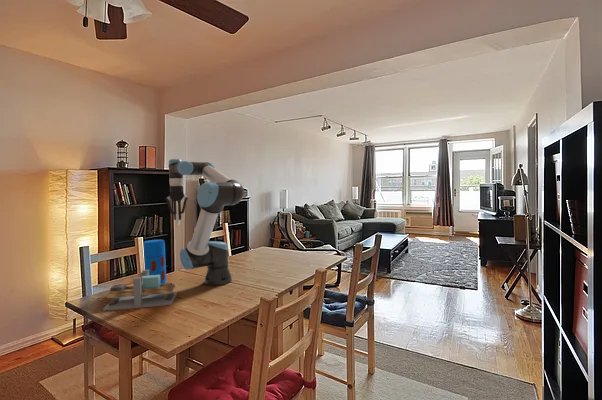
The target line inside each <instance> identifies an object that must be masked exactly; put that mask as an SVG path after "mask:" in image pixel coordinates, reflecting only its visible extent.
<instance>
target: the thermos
mask: <svg viewBox="0 0 602 400" xmlns="http://www.w3.org/2000/svg"><path fill="white" fill-rule="evenodd" d="M143 261H144V263H143V264H144V270H149V275H160V283H161V284H165V283H167V267H166V266H167V265H166V263H167V261H166V243H165V240H164V239H152V240H151V239H150V240H145V241H144V242H143Z"/></svg>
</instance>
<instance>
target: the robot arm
mask: <svg viewBox="0 0 602 400" xmlns="http://www.w3.org/2000/svg"><path fill="white" fill-rule="evenodd" d="M168 174H169V175H168V177H169V178H168V179H169V181H168V182H169V195H168V196H167V197H164V198H165V201H166V203H167V205H168V206H167V207H168V209H169V213H170V214H172V215H173V219H174V221H175V225H176V227H177V226H180V222H181V221H180V220H182V214H184V213H185V211H186V206H187V202H188V200H189V196H186V195H185V193H184V176H202V177H203V178H205V179H207V181H209V182H204V183H202V184H200V186H199V188H198V189H197V192H196V201H197V203H198V205H199V207H200V211H199V214H198V215H199V216H198V219H197V221H196V224H195V228H194V231H193V234H192V239H191V240H190V241H188V243H187V245H186V247H183V248H181V249H180V251H179V259H180V262H181V265H182V267H183V268H184V270H186V271H187V270H189V271H190V270H195V269H199V268H204V267H207V270H206V274H205V276H204V285H206V286H207V285H208V286H222V285H226V284H229V283H231V282H232V281H233V276H232V274H231V271H230V268H229V246H228V243H227V242H225V241H215V240H213V241H212V240H211V241H210V239H211V236H212V233H213V230H214V227H215V224H216V222H217V218H218V216H219V214H221V213H222V212H223V210H224V207H225V206H226V207H227V206H235V205H237V204H239V203H240V202H241V201H242V200H243V198H244V194H245V189H244V187H243V185H242V184H241V183H240V182H239V181H238V180H236V179H233V178H230V177H228V176H226V175H225V174H224V173H222V172H221V171H219V169H216V166H215V165H214V163H213V162H208V161H206V162H203V161H202V162H198V161H188V160H183V159H181V158H171V159H169V160H168ZM171 200H172V203H173V206H172V203H171ZM182 200H183V204H182ZM177 212H178V213H177Z"/></svg>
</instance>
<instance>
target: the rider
mask: <svg viewBox="0 0 602 400" xmlns="http://www.w3.org/2000/svg"><path fill="white" fill-rule="evenodd" d="M142 277H143V289H149V288H160V287H161V283H160V275H149V276H142Z"/></svg>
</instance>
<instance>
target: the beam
mask: <svg viewBox="0 0 602 400" xmlns="http://www.w3.org/2000/svg"><path fill="white" fill-rule="evenodd" d="M142 276H148V272H142V271H141V272H140V276H135V277H134V278H139V277H141V289H142V295H154V294H167V293H171V292H174V289H175V287H176V284H175V283H173V282H169V283H167V282H166V283H165V284H161V287H160V288H149V289H143V277H142ZM126 285H127V284H126V283H122V284H113V285H112V286H111V287H110V291H109V292H108V293H107V294H106V295H105V298H106V299H114V298H116V297H129V296H134V285H128V286H126Z"/></svg>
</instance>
